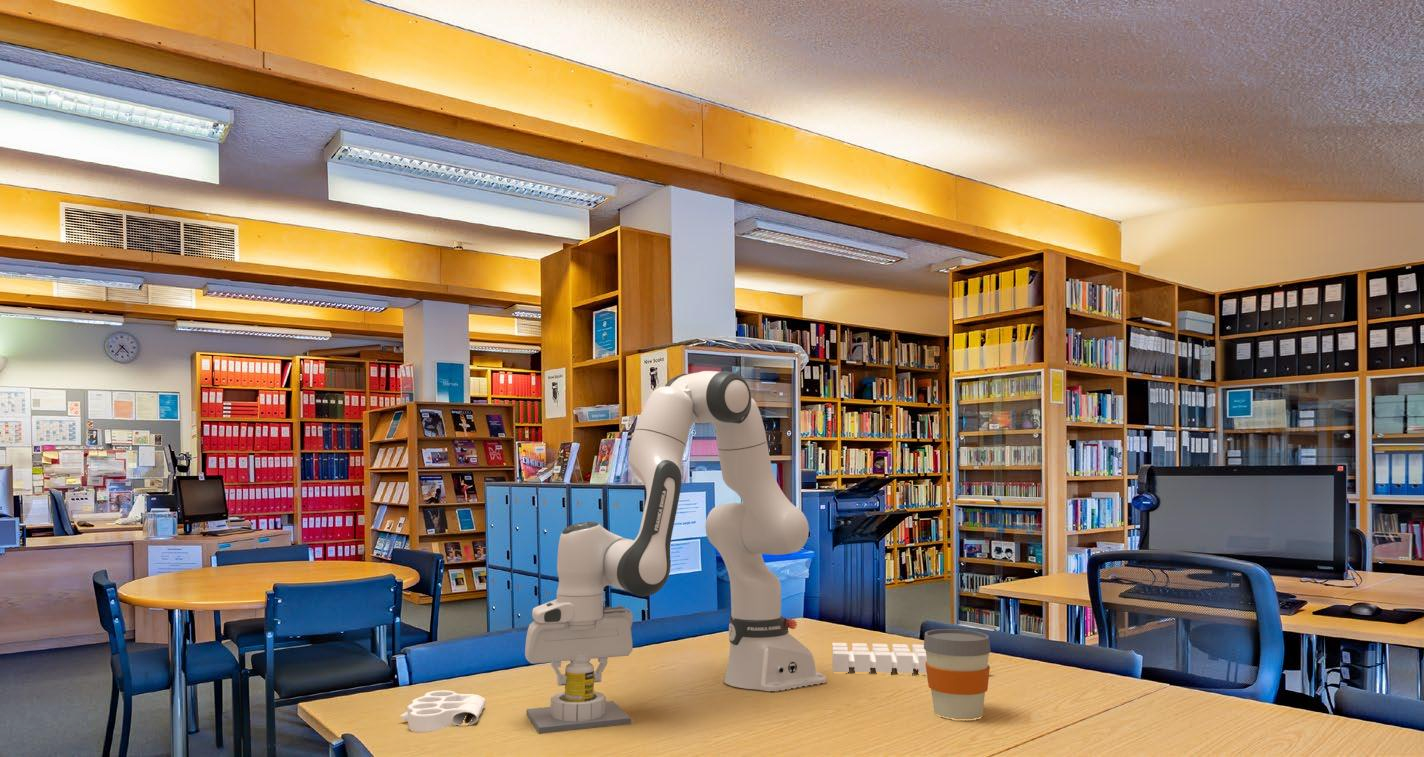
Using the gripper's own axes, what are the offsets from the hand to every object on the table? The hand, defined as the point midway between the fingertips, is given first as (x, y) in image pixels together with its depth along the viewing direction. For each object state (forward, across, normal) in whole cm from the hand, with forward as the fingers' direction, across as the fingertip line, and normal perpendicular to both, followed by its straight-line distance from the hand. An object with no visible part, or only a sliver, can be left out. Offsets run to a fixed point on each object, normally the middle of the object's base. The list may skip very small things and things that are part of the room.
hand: (579, 683), depth 170 cm
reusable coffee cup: (+7, -69, +23) cm, 73 cm away
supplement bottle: (+4, 0, 0) cm, 4 cm away
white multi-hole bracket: (+7, +24, -10) cm, 27 cm away
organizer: (+8, -81, -13) cm, 83 cm away
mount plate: (+6, 0, 0) cm, 7 cm away
